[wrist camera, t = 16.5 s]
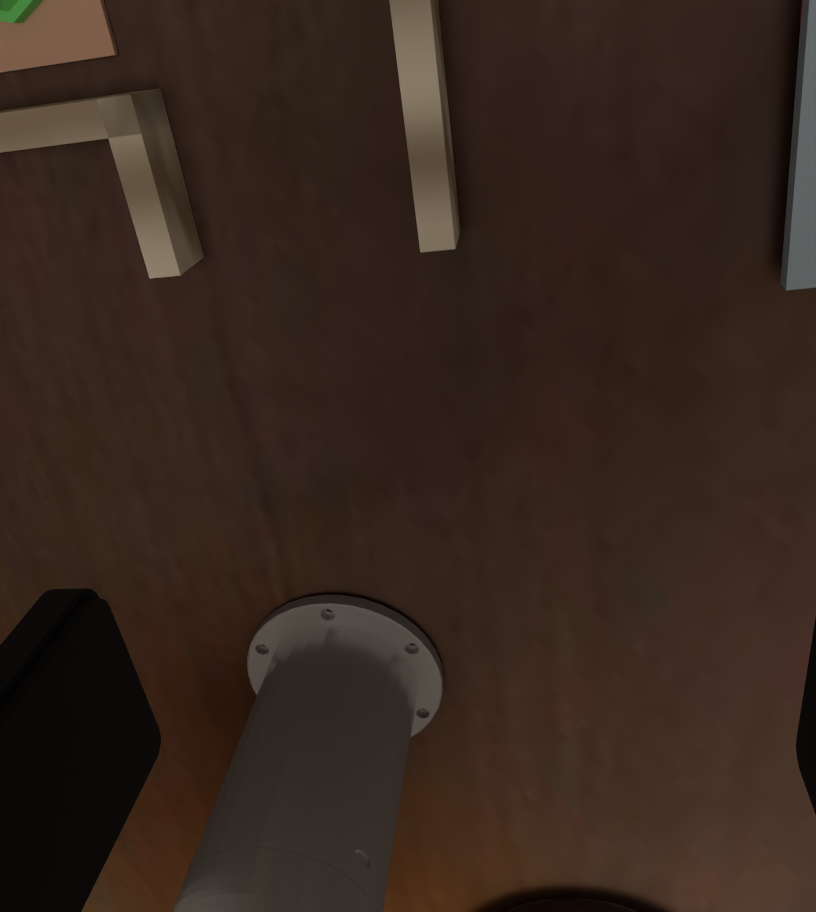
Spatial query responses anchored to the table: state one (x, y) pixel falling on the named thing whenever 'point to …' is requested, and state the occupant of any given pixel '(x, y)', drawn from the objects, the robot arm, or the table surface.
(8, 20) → the game piece
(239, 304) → the table surface
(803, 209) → the maze game
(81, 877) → the robot arm
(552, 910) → the plant saucer
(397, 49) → the bent track
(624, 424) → the table surface
